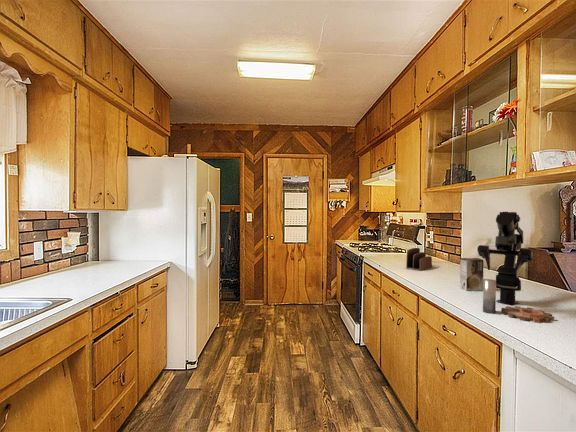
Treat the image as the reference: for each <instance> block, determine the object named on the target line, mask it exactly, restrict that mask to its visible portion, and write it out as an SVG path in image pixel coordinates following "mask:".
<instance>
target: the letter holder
mask: <svg viewBox="0 0 576 432" xmlns="http://www.w3.org/2000/svg"><path fill="white" fill-rule="evenodd" d="M405 264H406V265H405V266H406V268H405V269H406V270H409V271H411V270H412V271H417V272H421V271H425V270H427V269H431V268H433V259H432V256H431V255H430V256H429V255H427V254H426V252H424V251H423V252H421V248H420V247H413V248H410V249H407V251H406V263H405Z"/></svg>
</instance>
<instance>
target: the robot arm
mask: <svg viewBox="0 0 576 432" xmlns="http://www.w3.org/2000/svg"><path fill="white" fill-rule="evenodd" d="M520 222H521V217H520V214H518V212H517V211H500V212H499V214H497V215H496V218H495V223H496V226H497V229H498V235H497V236H495V240H494V241H495V245H494V247H495V249H494V248H490V246H489V245H485V244H479V245H478V246H477V250H476V251H477V253H478V256H479V257H481V259H484V260H485V262H486V266H487V270H488V271H490V270H491V254H492V255H501V256H502V255H504V261H503V266H499V268H498V272H497V274H496V275H495V280H496V289H499V299H497V300H496V302H497V303H501V304H506V305H508V306H509V305H510V306H513V305H517V304H520V302H519V301H516V291H517V292H520V291H522V280H521V279H520V277H519V276H518V272H519V270H520V269H521V267H522V266H523V265H524V264H525V263H528V262H529V261H530V262H531V261H533V250H532V249H531V248H527V247H526V248H525V247H522V245H523V244H524V231H523V230H522V229H521V227H520V224H519V223H520ZM515 232H517V233H515Z"/></svg>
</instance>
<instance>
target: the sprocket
mask: <svg viewBox="0 0 576 432" xmlns="http://www.w3.org/2000/svg"><path fill="white" fill-rule="evenodd" d="M500 311H501V314H502V315H506V316H508V318H511V319H518V320H519V321H521V322H522V321H523V322H526V321H530V322H533V323H541V322H543V323H550V322H551V321H552V322H553V321H554V320H555V318H554V315H553V314H552V313H549V312H546V311H545V310H541V309H534V308H532V307H521V306H520V305H518V306H517V305H516V306H511V305H510V306H509V305H508V306H507V305H506V306H505V307H501V309H500Z"/></svg>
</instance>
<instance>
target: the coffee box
mask: <svg viewBox="0 0 576 432" xmlns="http://www.w3.org/2000/svg"><path fill="white" fill-rule="evenodd" d="M459 259H460V260H459V263H460V264H459V289H461V290H463V291H465V292H477V291H478V292H480V291H481V292H483V279H484V259H483V258H479V257H460V258H459Z"/></svg>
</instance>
